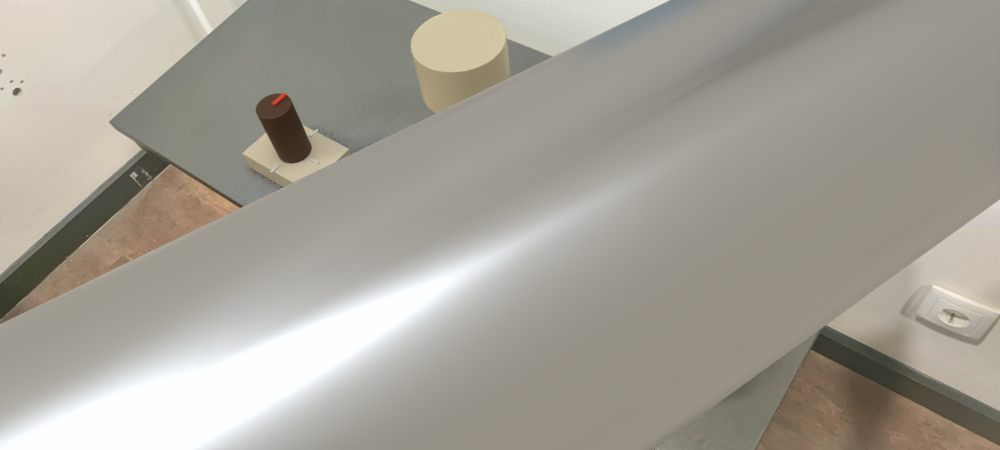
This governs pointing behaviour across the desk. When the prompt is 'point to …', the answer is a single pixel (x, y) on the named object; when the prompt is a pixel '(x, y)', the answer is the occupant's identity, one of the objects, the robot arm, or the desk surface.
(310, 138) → the dimmer panel
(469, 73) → the desk lamp
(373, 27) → the desk surface
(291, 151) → the dimmer knob
